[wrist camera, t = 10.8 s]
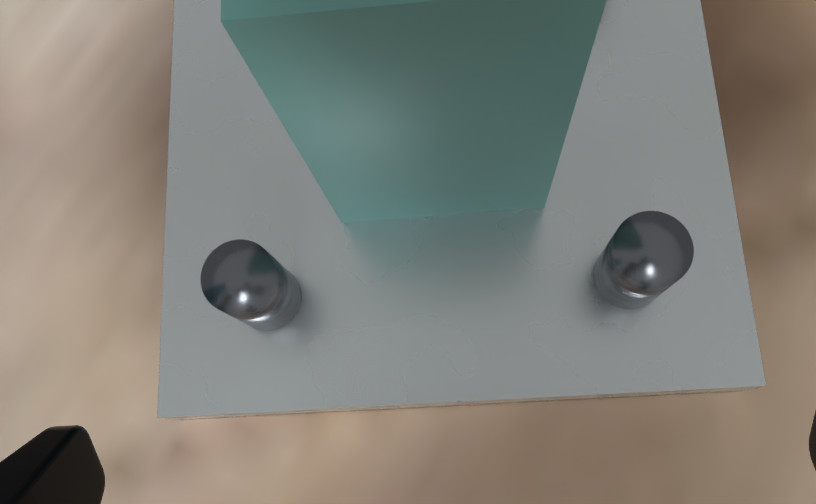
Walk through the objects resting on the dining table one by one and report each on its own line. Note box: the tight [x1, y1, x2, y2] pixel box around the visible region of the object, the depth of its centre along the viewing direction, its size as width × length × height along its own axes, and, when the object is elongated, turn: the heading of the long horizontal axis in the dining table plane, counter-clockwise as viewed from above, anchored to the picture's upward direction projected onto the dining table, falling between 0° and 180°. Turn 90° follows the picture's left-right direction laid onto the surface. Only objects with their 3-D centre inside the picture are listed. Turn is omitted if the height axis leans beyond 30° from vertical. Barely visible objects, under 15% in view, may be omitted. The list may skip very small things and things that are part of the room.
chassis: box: [157, 0, 766, 420], centre depth 18 cm, size 14×14×4 cm
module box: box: [221, 0, 607, 223], centre depth 14 cm, size 5×5×9 cm
